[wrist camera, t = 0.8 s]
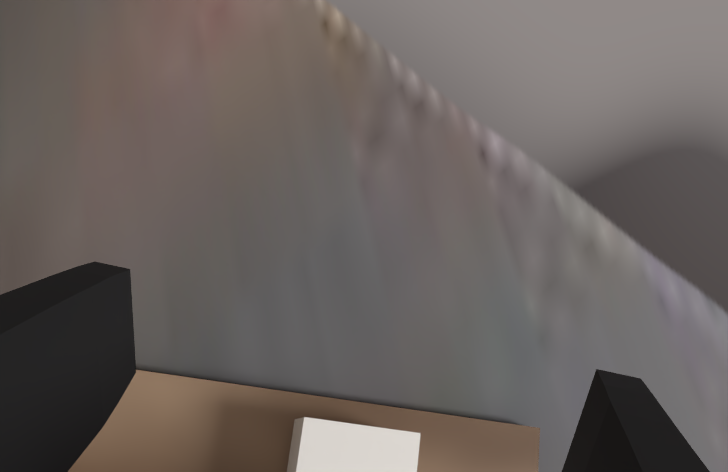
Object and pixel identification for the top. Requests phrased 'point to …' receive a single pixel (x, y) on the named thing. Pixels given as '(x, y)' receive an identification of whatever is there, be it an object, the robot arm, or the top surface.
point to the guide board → (278, 430)
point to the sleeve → (351, 448)
